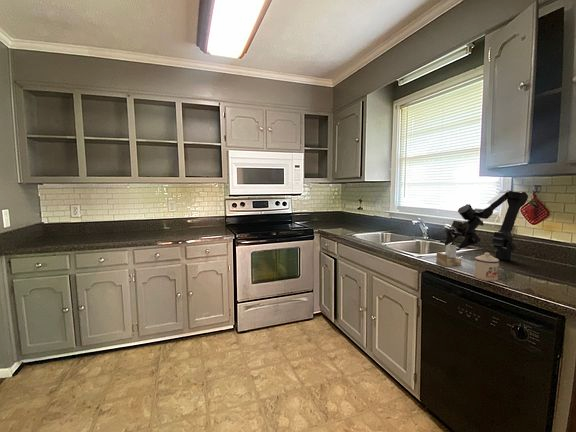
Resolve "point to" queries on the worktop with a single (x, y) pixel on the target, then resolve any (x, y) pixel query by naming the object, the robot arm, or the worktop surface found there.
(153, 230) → the worktop surface
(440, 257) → the sleeve
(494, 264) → the teacup with lid
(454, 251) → the white rectangular block
